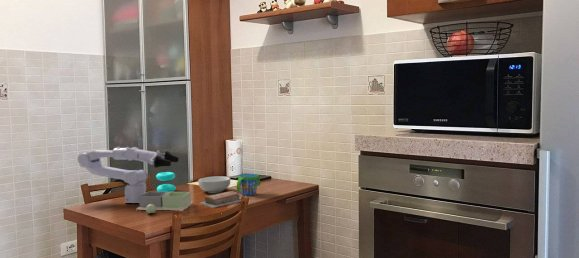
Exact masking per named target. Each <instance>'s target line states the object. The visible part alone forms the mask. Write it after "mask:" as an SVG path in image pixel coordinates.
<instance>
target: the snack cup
mask: <svg viewBox="0 0 579 258" xmlns="http://www.w3.org/2000/svg"><path fill="white" fill-rule="evenodd" d="M260 186H261V180H260V176H259V174H258V173H243V174H238V176H237V181H236V190H237V191H239V192H240V194H241V195H242V196H244V195H246V196H247V197H249V196H254V195H255V196H256V194H257V190H258V187H260Z"/></svg>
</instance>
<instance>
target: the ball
mask: <svg viewBox="0 0 579 258" xmlns="http://www.w3.org/2000/svg"><path fill="white" fill-rule="evenodd" d="M145 212H146V213H147V214H149V213H153V214H155V212H157V211H156V207H155V205H153V204H149V205H147V207H146V211H145Z"/></svg>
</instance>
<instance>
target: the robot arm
mask: <svg viewBox="0 0 579 258" xmlns="http://www.w3.org/2000/svg"><path fill="white" fill-rule="evenodd" d="M102 158H113V160H117V161H118V160H128V161H129V162H131V161H139V162H143V163H148V164H149V165H152V166H153V165H154V168H160V167H170V166H171V165H172V163H178V162H179V160H180V159H179V157H178V156H176V155H174V154H172V153H171V152H170V151H164V152H161V151H160V149H159V150H156V151H153V150H152V151H151V150H146V149H140V148H139V147H136V146H133V147H129V146H126V147H121V146H116V147H114V148H113V149H112V150H110V149H107V150H106V149H96V150H91V151H87V152H82V153H79V154H78V155H77V162H78V164H79V165H80V168H84V169H86V170H87V171H88V172H90V173H91V174H92V175H95V176H99V177H106V178H110V179H115V180H116V179H117V180H121V181H124V183H127V184H126V185H125V187H124V203H125V202H127V203H139V204H138V205H140V199H139V196H141V195H143V194H145V193H147V191H146V181H147V179H148V177H149V176H148V173H147V171H146V170H145V169H138V170H137V169H136V170H128V169H122V168H119V167H118V168H117V167H113V166H112V167H111V166H105V165H102V161H101V159H102Z"/></svg>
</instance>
